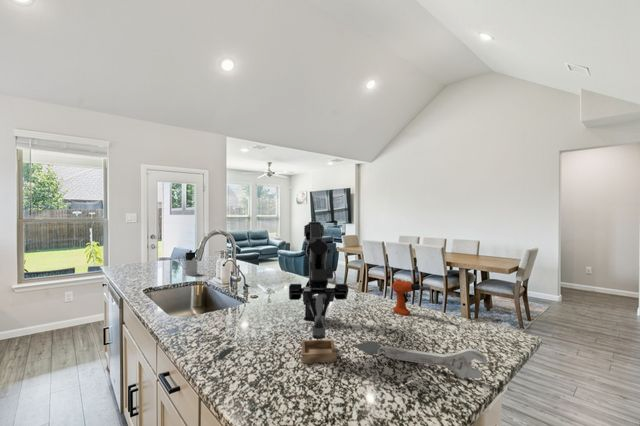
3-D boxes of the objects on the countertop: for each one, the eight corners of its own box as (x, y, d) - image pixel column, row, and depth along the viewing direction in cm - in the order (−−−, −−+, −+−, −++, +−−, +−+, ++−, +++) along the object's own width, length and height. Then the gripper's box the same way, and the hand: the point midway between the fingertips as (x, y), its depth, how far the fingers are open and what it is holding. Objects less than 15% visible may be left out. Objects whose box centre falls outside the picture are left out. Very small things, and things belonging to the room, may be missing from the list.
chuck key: (311, 339, 93) (312, 295, 93) (311, 334, 97) (311, 292, 97) (326, 339, 93) (327, 295, 93) (325, 333, 97) (325, 292, 97)
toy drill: (430, 319, 124) (426, 281, 125) (391, 314, 138) (388, 279, 139) (436, 317, 127) (432, 280, 129) (397, 311, 141) (394, 278, 143)
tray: (302, 363, 89) (302, 354, 89) (301, 348, 99) (301, 340, 99) (336, 362, 90) (336, 353, 90) (332, 347, 100) (332, 339, 100)
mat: (353, 347, 101) (353, 345, 101) (371, 341, 105) (371, 340, 105) (370, 356, 94) (370, 355, 94) (388, 350, 99) (388, 349, 99)
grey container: (193, 276, 211) (193, 254, 211) (174, 275, 214) (174, 253, 214) (200, 273, 220) (200, 252, 220) (182, 272, 222) (182, 251, 222)
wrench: (380, 363, 96) (490, 382, 80) (378, 365, 95) (489, 385, 78) (378, 337, 97) (486, 350, 80) (376, 339, 95) (485, 352, 79)
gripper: (289, 258, 98) (287, 303, 87) (347, 258, 99) (353, 303, 88) (289, 278, 106) (288, 321, 95) (344, 277, 107) (348, 320, 96)
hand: (319, 316), depth 94 cm, fingers closed on chuck key, 3 cm apart
